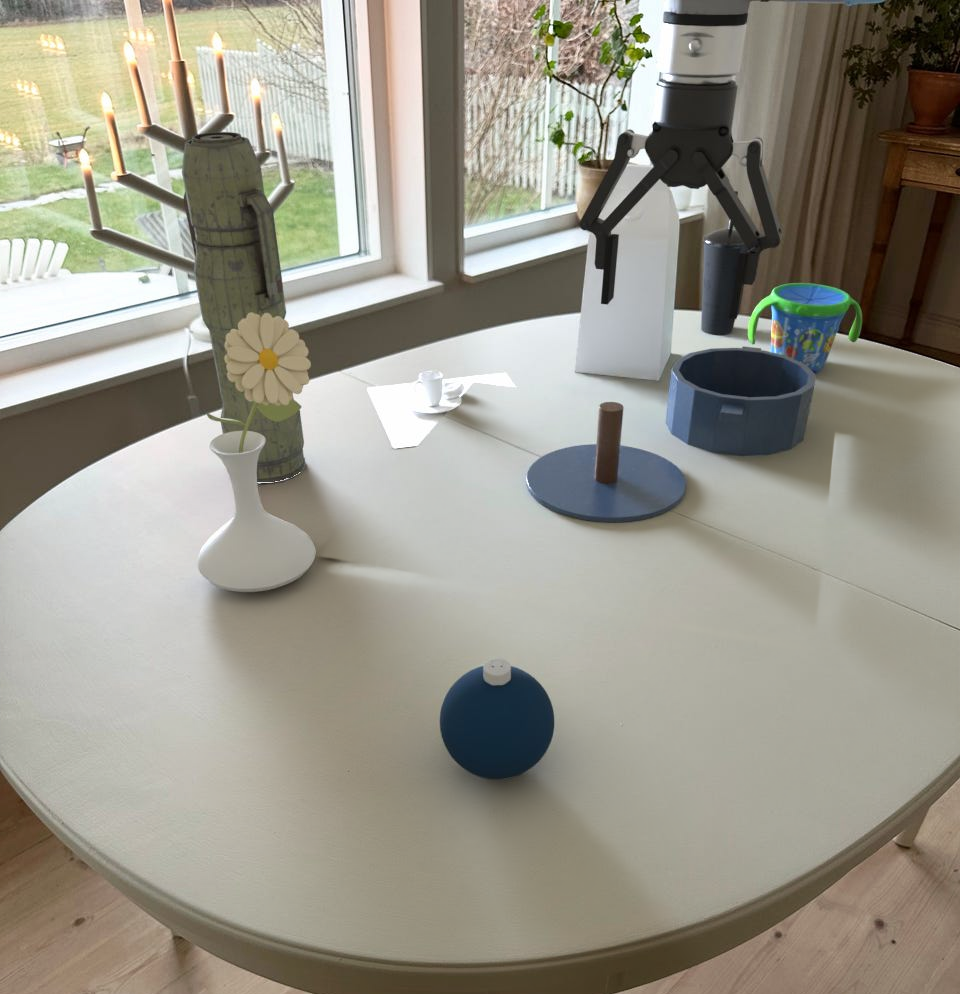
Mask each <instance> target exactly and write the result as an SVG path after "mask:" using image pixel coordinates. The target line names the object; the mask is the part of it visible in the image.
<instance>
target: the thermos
mask: <svg viewBox="0 0 960 994" xmlns="http://www.w3.org/2000/svg"><path fill="white" fill-rule="evenodd" d="M183 149H184V150H183V159H182V165H181V166H182V167H181V175H182V181H183V186H184V195H183V204H184V209H185V215H186V220H187V224H188V229H189V234H190V239H191V243H192V249H193V254H194V264H193V276H194V280H195V287H196V292H197V297H198V303H199V308H200V314H201V318H202V319H201V320H202V321H203V323H204V325H205V326H206V328H207V330H208V332H209V338H210V344H211V348H212V355H213V359H214V360H213V361H214V365H215V370H216V371H215V372H216V376H217V382H218V388H219V394H220V398H221V402H222V408H221V413H220V418H226V419H233V420H237V421H241V422H243V423H244V424H246V422H247V419H248V417H249V415H250V412H251V410H252V407H253V404H254V401H252V402H250V401H248V400H247V399H246V398H245V391H242V392H241V391H239V390H238V389H237V388H236V385H235V384H236V382H231V381H230V380H229V379H228V377H227V373H228V371H227V368H226V365H227V364H226V362H225V359H224V357H225V355H227V350H226V349H225V346H224V345H225V342H226V335H227V334H228V333H230V331H231V329H237V330H239V329H238V323H239V322H240V321H241V320H242V319H244V318H246V317H247V315H248V313H251V312H252V313H254V314H258V315H260V317H261V318H262V316H263V314H265V313H269V314H270V315H271V316H272V317H273V318H274V317H276V316H280V317H281V318H282V319H283V320H286V316H287V307H286V300H285V292H284V285H283V275H282V269H281V260H280V252H279V246H278V238H277V231H276V223H275V215H274V209H273V207H272V205H271V203H270V202H269V200H268V198H267V197H266V195H265V187H264V180H263V179H264V178H263V173H262V172H263V171H262V167H261V164H260V161H259V159H258V156H257V155H256V153H255V150H254V148H253V146H252V143H251V141H250V139H249V138H248V137H245V136H242V134H241V133H238V132H234V131H233V132H232V131H231V132H230V131H215V132H214V131H213V132H204V133H198V134H195V135H193V136H191V138H190V139H189V140H186V141H185V142H184V148H183ZM292 393H293V392H292ZM293 394H294V393H293ZM258 404H259V403H258ZM258 404H257V406H258ZM220 426H221V431H222V434H225V433H228V432H233V431H243V430H244V427H245V426H244V425H237V424H232V423H226V422H220ZM247 431H252V432H257V433H259V434H261V435H263V436H264V437H265V439H266V442H265V445H264V446H263V448H262V449H261V452H260V454H259V457H258V461H257V482H275V481H280V480H284V479H286V478H291V477H293V476H294V475H296V474H298V473H299V472H301V471H302V470H303V471H304V469H305V468H306V458H305V456H304V455H305V454H304V444H305V440H304V433H303V423H302V416H301V409H300V410H299V411H297V412H296V413H295V414H294V415H292V416H291V417H289V418H287V419H285V420H283V421H279V422H275V421H272V420H270V419H269V418H267V417H266V416H264V415H263V414H262V413H261V412H260V411H259V410H258V408H257V407H256V410H255V412H254V415H253V417H252V420H251V422H250V425H249V427H248V430H247ZM304 467H305V468H304ZM303 468H304V469H303ZM303 471H302V472H303ZM302 472H301V473H302ZM298 475H299V474H298ZM293 478H294V477H293ZM291 479H292V478H291Z"/></svg>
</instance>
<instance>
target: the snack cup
mask: <svg viewBox="0 0 960 994" xmlns="http://www.w3.org/2000/svg"><path fill="white" fill-rule="evenodd" d="M850 306H852V307H853V308H854V309H855V318H854V320H853V321H852V326H851V328H850V330H849V332H848V340H849V341H850V343H856V342H857V341H858V339H859V337H860V334H861V331H862V326H863V313H862V308H861V306H860V304H859V303H858V302H857V301H856V300H855V299H853V298H852V297H851V296H850V294H849V293H848V292H846V291H844V290H842V289H840V288H837V287H834V286H830V285H825V284H818V283H809V282H806V283H805V282H793V283H792V282H791V283H784V284H781V285H778V286H776V287H774V288H773V289H772V291H771V293H770V295H768V296H765V298H762V299H761V300H760V302H759V303H758V304H757V305H756V306H755V307H754V310H753V311H752V314H751V315H750V319H749V321H748V326H747V337H748V341H749V343H750V344H751V345H755V344H756V333H757V329H758V324H759V319H760V315H761V313H762V312H764V310H766V309H767V308H768V307H770V309H771V315H772V316H771V332H770V337H771V339H770V352H772V353H776V354H780V355H785V356H788V357H791V358H793V359H795V360H797V361H799V362H801V363H803V364H805V365H807V366H808V367H809V368H810V369H811V370H812V371H813V372H816V373H817V372H820V370H821V369H822V368H823V367H825V364H826V363H827V361H828V358H829V355H830V353H831V350H832V347H833V346H834V345H833V344H834V342H835V340H836V336H837V333H838V331H839V328H840V325H841V323H842V321H843V318H844V317H845V315H846V313H847V311H849V308H850Z"/></svg>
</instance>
